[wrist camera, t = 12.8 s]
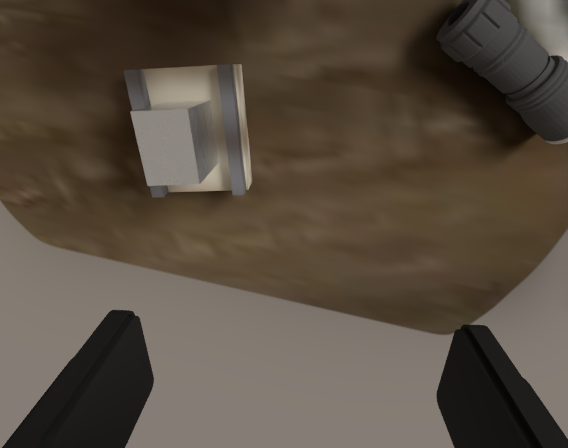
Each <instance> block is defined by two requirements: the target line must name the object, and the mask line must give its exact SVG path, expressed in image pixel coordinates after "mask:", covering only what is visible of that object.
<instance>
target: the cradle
mask: <svg viewBox="0 0 568 448" xmlns="http://www.w3.org/2000/svg"><path fill="white" fill-rule="evenodd" d="M123 72H124V77H125V81H126V85H127V90H128V94H129V98H130V103H131V107H132V111H134V110H138V109H141V108H145V107H149V106H152V105H156V104H160V103H163V102H179V101H200V100H211V106H212V114H213V121H214V129H215V136H216V144H217V151H218V159H219V163H218V164H217V165H216V166H215V167H214V169H213V170H212V171H211V172H210V173H209V174H208V175H207V177H206V178H205V179H204V180H203V181H202V182H201V184H195V185H161V186H150V190H151V194H152V198H153V197H164V196H165V195H166V194H168V193H169V192H194V191H229V190H232V195H244V194H245V192H246V190H248V189H249V187H250V185H251V183H252V173H251V162H250V152H249V141H248V130H247V120H246V109H245V98H244V87H243V77H242V66H241V64H225V65H210V66H192V67H174V68H156V69H135V70H123Z"/></svg>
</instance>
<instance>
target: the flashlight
mask: <svg viewBox="0 0 568 448" xmlns="http://www.w3.org/2000/svg"><path fill="white" fill-rule="evenodd" d="M510 9H511V6H510V5H509V4H508V3H507V2H506V1H505V0H463V1H462V3H461V4H460V5H459V6H458V7H457V8H456V9H455V10H454V11H453V12H452V14H451V15H450V16H449V18H448V19H447V20H446V21H445V23H444V24H443V26H442V27H441V29H440V31H439V32H438V34H437V37H436V39H437V40H438V41H439V42H440V43H441V48H442V50H443V51H444V52H445V53H446V54H448V55H449V56H450V57H451V58H452V59H453V60H455V61H456V62H461V61H462V62H463V63H464V64H466V65H467V66H468V67H470V68H472V67H473V71H474V72H477V73H478V75H479V76H481V77H484V78H486V79H487V80H488V81H489V82H490V83H491V84H493V85H494V86H495V87H496V88H497V89H498V90H499V91H501V92H502V93H506V103H507V104H508V105H510V107H511V108H513V109H514V110H515V111H516V112H518V113H520V115H521V117H522V119H523V120H524V122H525V123H526V125H528V126H529V127H530V128H531V129H532V130H533V131H535V132H536V133H537V134H538V135H539V136H540V137H542V138H543V139H544V140H545V141H546V142H548V143H550V144H562V143H566V142H568V62H567V61H565V60H564V59H563V57H561V56H557V55H556V56H548V52H547V51H546V50H545V49H544V48H543V47H542V46H541V45H540V44H539V43H538V42H537V41H536V40H535V39H534V38H532V37H531V36H530V35H529V34H528V30H527V29H526V28H523V25H522V24H521V23H517V18H516V17H515V16H514V15H513V14H512V13H511V12H510Z"/></svg>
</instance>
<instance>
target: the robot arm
mask: <svg viewBox="0 0 568 448" xmlns="http://www.w3.org/2000/svg"><path fill="white" fill-rule="evenodd" d="M153 382H154V377H153V373H152V368H151V364H150V360H149V356H148V352H147V348H146V343H145V339H144V335H143V330H142V327H141V322H140V318H139V317H138V316H135V314H134V312H133V311H126V310H125V311H124V310H112V311H110V312H109V313H108V314H107V315H106V317H105V318H104V320H103V321H102V322H101V323H100V325H99V326H98V327H97V328H96V330H95V331H94V332H93V334H92V335H91V336H90V338H89V339H88V340H87V341H86V343H85V344H84V345H83V346H82V348H81V349H80V350H79V352H78V353H77V354H76V355H75V357H73V358H72V359H71V360H70V361H69V363H68V364H67V366H65V368H64V369H63V370H62V372H61V373H60V374H59V375H58V377H57V378H56V379H55V381H54V382H53V383H52V385H51V386H50V387H49V388H48V390H47V391H46V392H45V393H44V395H43V396H42V397H41V399H40V400H39V401H38V402H37V404H36V405H35V406H34V408H33V409H32V410H31V411H30V413H29V414H28V415H27V416H26V418H25V419H24V420H23V422H22V423H21V424H20V425H19V427H18V428H17V429H16V431H15V432H14V433H13V434H12V436H11V437H10V438H9V440H8V441H7V442H6V443H5V445H4V446H3V447H2V448H125V446H126V444H127V442H128V440H129V438H130V436H131V433H132V431H133V429H134V427H135V424H136V423H137V420H138V418H139V416H140V414H141V412H142V410H143V408H144V405H145V403H146V401H147V399H148V397H149V395H150V392H151V390H152V387H153ZM437 402H438V406H439V409H440V411H441V413H442V416H443V419H444V422H445V424H446V427H447V429H448V432H449V434H450V437H451V440H452V442H453V445H454V447H455V448H568V439H567V438H566V436H565V435H564V433H563V432H562V430H561V429H560V428H559V426H558V425H557V423H556V422H555V420H554V419H553V417H552V416H551V414H550V413H549V411H548V410H547V409H546V407H545V406H544V404H543V403H542V401H541V400H540V398H539V397H538V396H537V394H536V393H535V391H534V390H533V389H532V387H531V385H530V384H529V383H528V382H527V381H526V380H525V379H524V378H523V377H522V376H521V375H520V373H519V372H518V370H517V369H516V367H515V366H514V365H513V363H512V362H511V360H510V359H509V357H508V356H507V354H506V353H505V351H504V350H503V349H502V347H501V345H500V344H499V343H498V341H497V340H496V338H495V337H494V335H493V334H492V333H491V331H490V330H489V328H488V327H487V326H484V325H463V326H462V327H461V329H460V330H456V331H455V333H454V336H453V340H452V343H451V346H450V350H449V353H448V356H447V360H446V363H445V366H444V370H443V373H442V376H441V380H440V383H439V387H438V390H437Z"/></svg>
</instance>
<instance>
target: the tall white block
mask: <svg viewBox="0 0 568 448" xmlns="http://www.w3.org/2000/svg"><path fill="white" fill-rule="evenodd" d="M130 113H131V117H132V122H133V126H134V130H135V134H136V139H137V143H138V147H139V152H140V156H141V160H142V164H143V169H144V173H145V177H146V182H147V186H161V185H195V184H201V182H202V181H203V180H204V179H205V178H206V177H207V175H208V174H209V173H210V172H211V171H212V170H213V169H214V167H215V166H216V165H217V164H218V163H219V159H218V151H217V144H216V136H215V129H214V121H213V114H212V106H211V100H200V101H179V102H163V103H160V104H156V105H152V106H149V107H145V108H141V109H138V110H134V111H130Z"/></svg>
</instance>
